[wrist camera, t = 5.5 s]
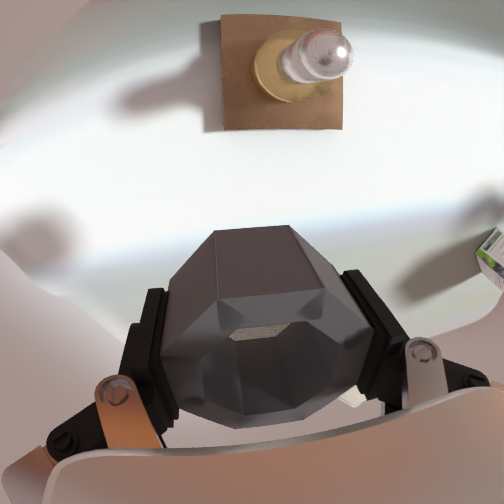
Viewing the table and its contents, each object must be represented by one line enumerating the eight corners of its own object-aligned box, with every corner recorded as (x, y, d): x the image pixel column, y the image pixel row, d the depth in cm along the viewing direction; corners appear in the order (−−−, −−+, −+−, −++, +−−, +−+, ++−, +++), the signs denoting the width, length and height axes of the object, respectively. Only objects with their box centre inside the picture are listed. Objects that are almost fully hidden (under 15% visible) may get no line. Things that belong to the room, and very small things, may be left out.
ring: (337, 221, 11) (389, 278, 8) (321, 345, 14) (347, 410, 11) (161, 235, 10) (140, 304, 7) (187, 359, 13) (186, 432, 10)
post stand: (334, 26, 20) (411, -9, 10) (335, 128, 25) (414, 151, 15) (220, 19, 19) (229, -41, 9) (223, 128, 24) (234, 147, 13)
